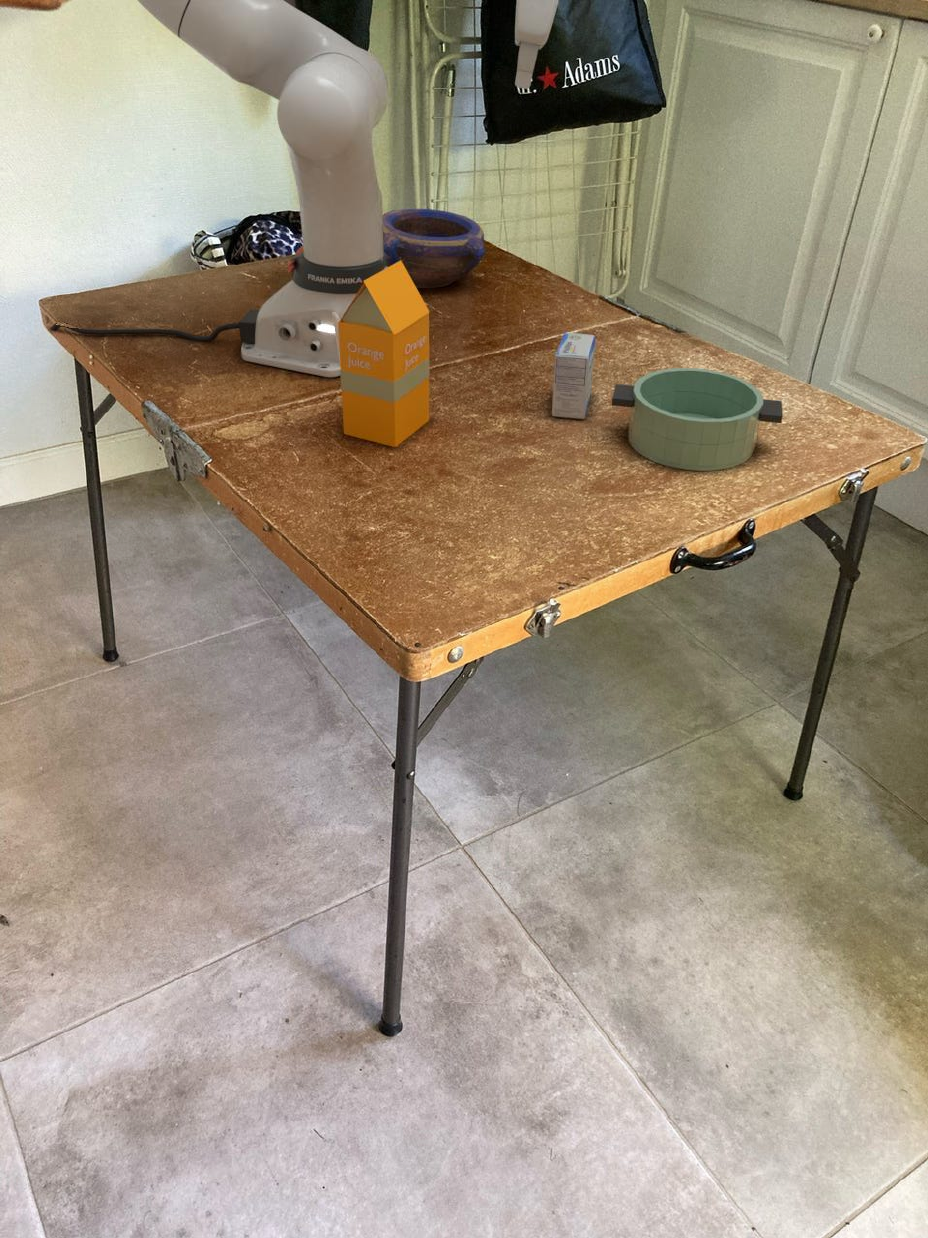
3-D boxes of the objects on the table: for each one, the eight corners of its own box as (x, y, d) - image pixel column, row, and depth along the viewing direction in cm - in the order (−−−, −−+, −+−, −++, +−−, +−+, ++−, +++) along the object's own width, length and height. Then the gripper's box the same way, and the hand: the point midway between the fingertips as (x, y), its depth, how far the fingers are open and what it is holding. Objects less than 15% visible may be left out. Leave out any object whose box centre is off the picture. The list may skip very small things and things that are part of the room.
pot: (622, 462, 129) (628, 413, 126) (633, 408, 142) (639, 362, 138) (753, 477, 127) (763, 427, 123) (753, 421, 139) (762, 374, 135)
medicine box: (584, 420, 139) (590, 357, 133) (550, 417, 139) (554, 353, 134) (591, 395, 145) (596, 334, 140) (558, 392, 145) (562, 331, 140)
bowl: (485, 298, 175) (486, 236, 169) (374, 297, 174) (373, 235, 168) (481, 263, 189) (483, 205, 183) (379, 262, 189) (378, 203, 183)
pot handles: (611, 405, 131) (612, 397, 131) (615, 391, 135) (615, 383, 134) (781, 423, 128) (782, 415, 128) (780, 408, 132) (781, 400, 131)
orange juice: (342, 433, 134) (334, 275, 122) (378, 407, 141) (373, 254, 129) (396, 447, 131) (393, 287, 120) (430, 420, 138) (430, 265, 126)
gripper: (517, -40, 132) (497, 83, 138) (517, -60, 114) (494, 82, 120) (567, -31, 133) (545, 92, 139) (575, -49, 114) (549, 93, 120)
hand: (521, 87), depth 129 cm, fingers open, 8 cm apart
